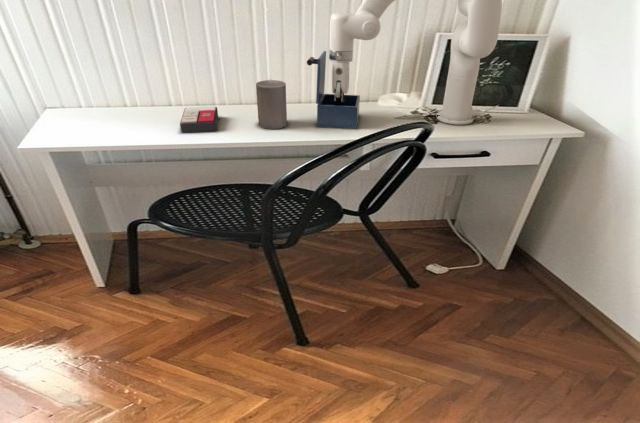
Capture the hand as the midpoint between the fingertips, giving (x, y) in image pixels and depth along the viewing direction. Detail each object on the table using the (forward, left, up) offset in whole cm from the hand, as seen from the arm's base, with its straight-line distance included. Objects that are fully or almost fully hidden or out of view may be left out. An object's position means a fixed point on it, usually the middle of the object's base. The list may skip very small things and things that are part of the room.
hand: (338, 111), depth 140 cm
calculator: (+46, +11, -4) cm, 47 cm away
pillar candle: (+22, +7, -4) cm, 23 cm away
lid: (+6, 0, +11) cm, 13 cm away
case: (0, 0, -3) cm, 3 cm away
